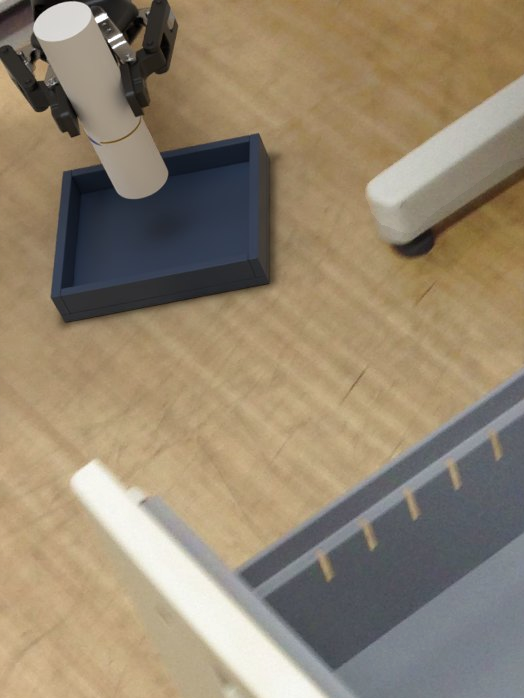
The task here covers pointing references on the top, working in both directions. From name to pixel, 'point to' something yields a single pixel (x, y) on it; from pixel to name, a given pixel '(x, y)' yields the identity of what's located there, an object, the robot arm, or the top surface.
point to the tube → (100, 98)
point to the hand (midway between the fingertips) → (103, 116)
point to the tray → (164, 232)
